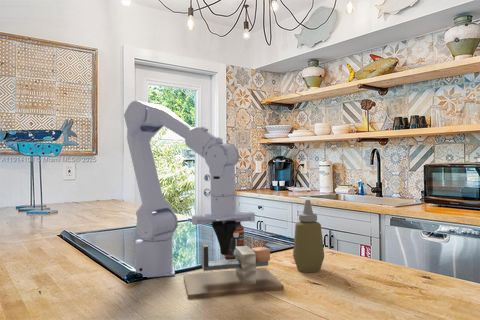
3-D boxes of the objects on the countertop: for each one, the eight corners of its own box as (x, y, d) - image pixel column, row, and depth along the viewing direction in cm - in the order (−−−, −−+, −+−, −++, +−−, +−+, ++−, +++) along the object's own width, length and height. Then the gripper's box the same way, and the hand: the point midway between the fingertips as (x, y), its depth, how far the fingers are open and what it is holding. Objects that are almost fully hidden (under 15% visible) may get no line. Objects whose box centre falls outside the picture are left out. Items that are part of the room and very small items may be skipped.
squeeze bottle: (327, 267, 98) (326, 198, 98) (320, 276, 91) (319, 202, 91) (298, 263, 102) (296, 198, 102) (289, 272, 94) (287, 201, 94)
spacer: (254, 262, 86) (253, 252, 86) (249, 257, 90) (249, 247, 90) (272, 261, 87) (272, 251, 87) (267, 256, 91) (266, 246, 91)
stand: (188, 298, 78) (187, 262, 78) (183, 277, 91) (182, 247, 91) (283, 289, 82) (283, 255, 82) (265, 270, 96) (265, 241, 96)
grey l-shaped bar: (204, 271, 83) (203, 246, 83) (201, 265, 88) (201, 242, 88) (268, 266, 86) (268, 242, 86) (262, 260, 91) (262, 238, 91)
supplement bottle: (242, 259, 107) (241, 220, 107) (222, 258, 108) (221, 219, 108) (246, 254, 113) (245, 217, 113) (226, 253, 114) (226, 216, 114)
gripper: (193, 198, 81) (194, 260, 81) (257, 195, 84) (259, 255, 84) (190, 195, 88) (191, 252, 88) (250, 192, 91) (251, 248, 91)
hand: (224, 253), depth 86 cm, fingers closed
